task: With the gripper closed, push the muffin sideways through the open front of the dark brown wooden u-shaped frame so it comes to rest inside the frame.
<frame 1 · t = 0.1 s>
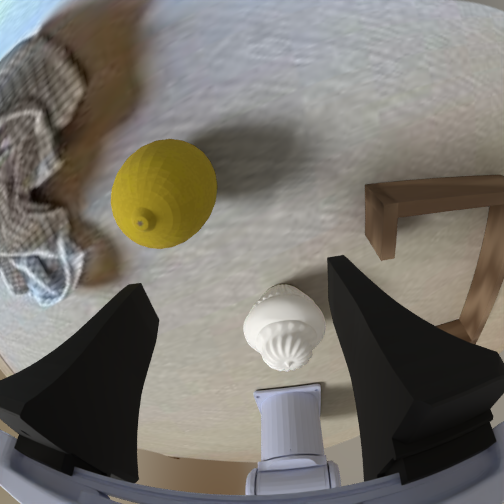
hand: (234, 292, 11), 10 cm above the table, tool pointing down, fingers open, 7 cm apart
brown wooden u-shaped frame: (431, 272, 23), on the table
lemon: (183, 169, 19), on the table
muffin: (281, 297, 24), on the table
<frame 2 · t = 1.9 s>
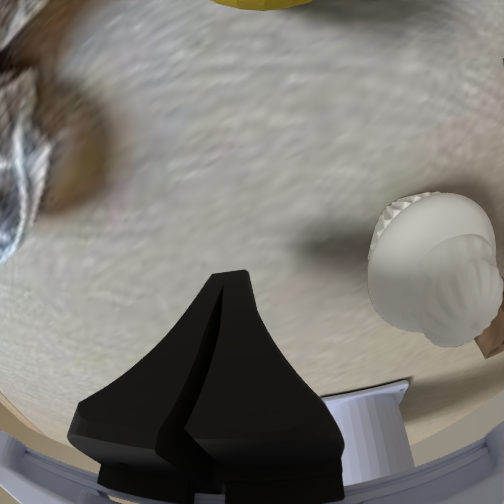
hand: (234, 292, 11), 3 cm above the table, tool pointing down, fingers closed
muffin: (401, 225, 13), on the table
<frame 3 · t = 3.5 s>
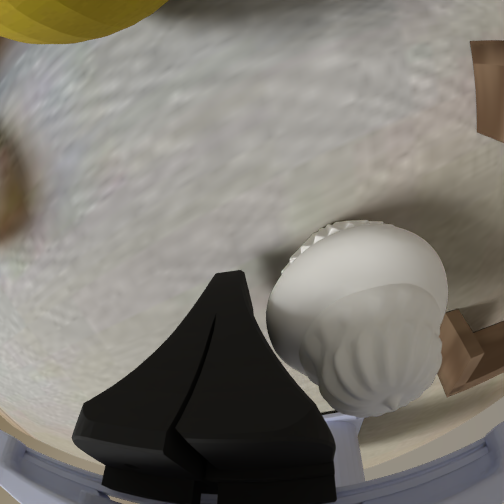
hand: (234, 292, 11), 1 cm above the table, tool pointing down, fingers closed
muffin: (337, 253, 12), on the table, touching gripper
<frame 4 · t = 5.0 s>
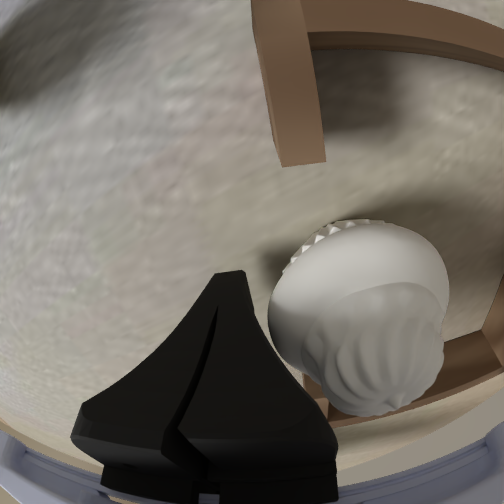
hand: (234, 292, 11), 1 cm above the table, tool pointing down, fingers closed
brown wooden u-shaped frame: (439, 240, 11), on the table
muffin: (338, 252, 12), on the table, touching gripper
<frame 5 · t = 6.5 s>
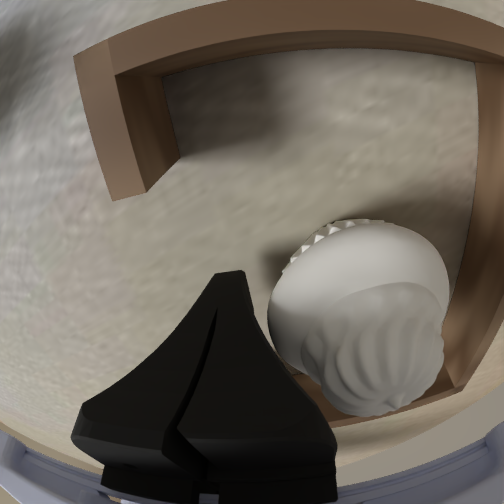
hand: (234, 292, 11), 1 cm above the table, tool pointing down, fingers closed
brown wooden u-shaped frame: (356, 253, 11), on the table
muffin: (338, 252, 12), on the table, touching gripper
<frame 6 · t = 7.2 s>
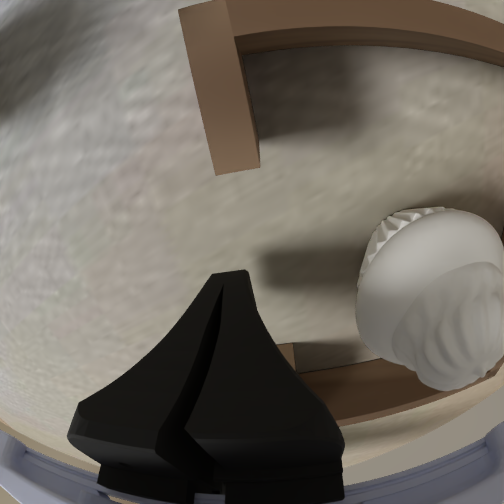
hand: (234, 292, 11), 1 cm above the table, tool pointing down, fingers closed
brown wooden u-shaped frame: (415, 242, 11), on the table
muffin: (399, 241, 11), on the table
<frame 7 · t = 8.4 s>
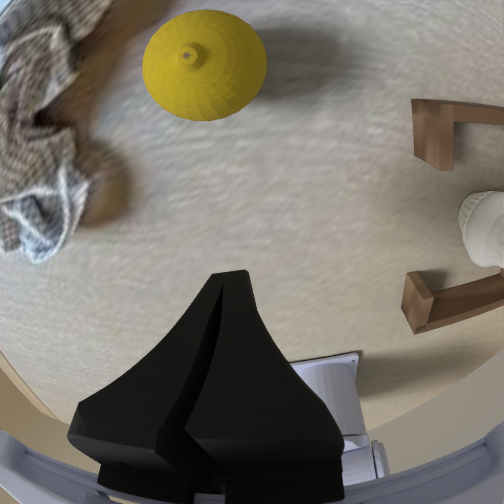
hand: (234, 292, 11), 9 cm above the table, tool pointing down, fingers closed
brown wooden u-shaped frame: (477, 210, 19), on the table
lemon: (217, 71, 15), on the table
muffin: (470, 209, 19), on the table
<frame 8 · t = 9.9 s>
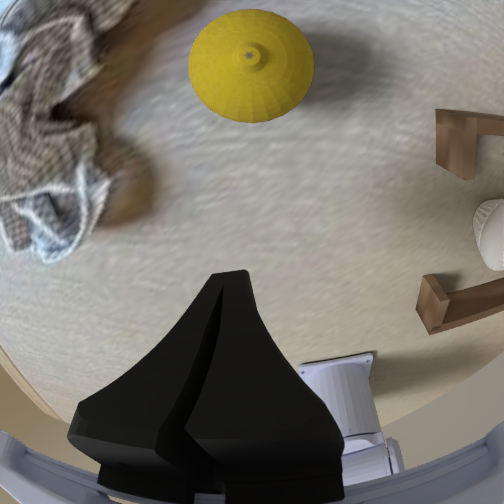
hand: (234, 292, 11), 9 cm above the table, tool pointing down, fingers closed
brown wooden u-shaped frame: (489, 216, 19), on the table
lemon: (252, 71, 15), on the table
muffin: (483, 215, 19), on the table
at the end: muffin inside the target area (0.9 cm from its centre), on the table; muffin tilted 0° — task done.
